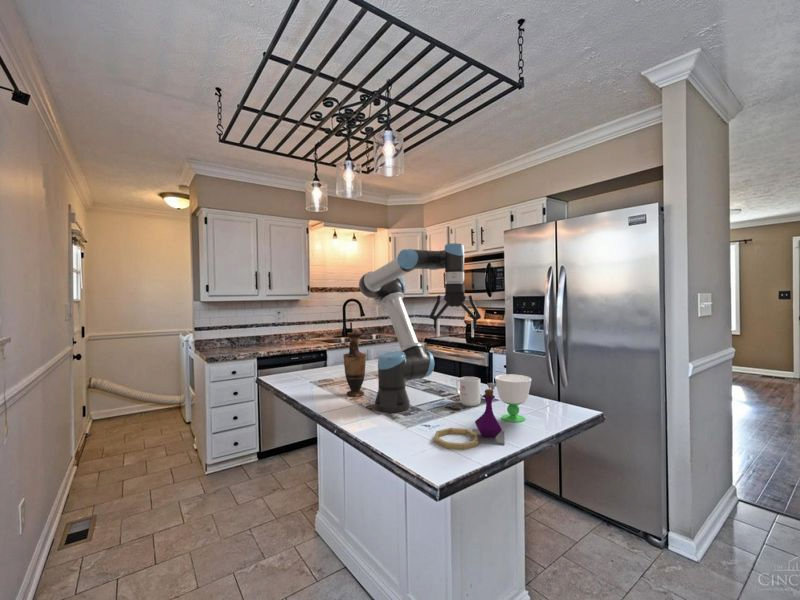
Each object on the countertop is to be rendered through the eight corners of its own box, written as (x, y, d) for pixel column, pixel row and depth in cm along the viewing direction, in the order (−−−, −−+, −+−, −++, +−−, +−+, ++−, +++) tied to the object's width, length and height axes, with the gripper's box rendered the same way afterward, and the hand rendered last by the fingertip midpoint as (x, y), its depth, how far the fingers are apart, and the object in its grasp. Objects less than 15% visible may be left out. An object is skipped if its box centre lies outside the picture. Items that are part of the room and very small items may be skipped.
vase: (350, 391, 198) (349, 331, 197) (370, 392, 194) (369, 332, 193) (340, 396, 188) (338, 333, 187) (360, 398, 184) (359, 334, 183)
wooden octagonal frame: (431, 446, 127) (431, 442, 127) (438, 431, 141) (438, 426, 141) (477, 450, 123) (477, 446, 123) (479, 434, 137) (479, 430, 137)
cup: (488, 419, 153) (488, 378, 152) (504, 410, 163) (504, 372, 163) (523, 427, 144) (522, 383, 143) (537, 417, 154) (537, 377, 154)
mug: (484, 404, 173) (484, 378, 173) (471, 408, 167) (471, 382, 167) (463, 398, 182) (463, 374, 182) (450, 402, 176) (450, 377, 176)
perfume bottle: (474, 430, 138) (477, 379, 137) (495, 431, 138) (498, 380, 138) (479, 438, 130) (483, 384, 130) (501, 439, 131) (505, 385, 130)
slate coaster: (470, 442, 130) (470, 440, 130) (472, 430, 141) (472, 428, 141) (504, 444, 128) (504, 443, 128) (504, 432, 138) (504, 431, 138)
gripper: (421, 283, 155) (422, 337, 156) (486, 282, 149) (487, 338, 149) (425, 283, 162) (425, 335, 163) (487, 282, 156) (487, 336, 157)
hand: (455, 336), depth 156 cm, fingers open, 13 cm apart
